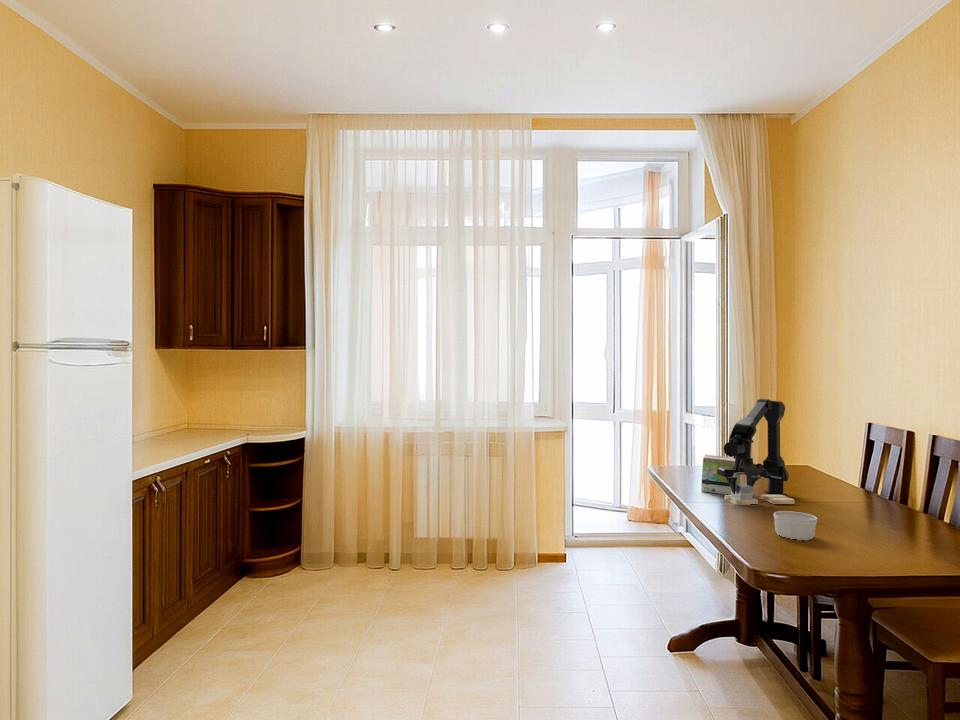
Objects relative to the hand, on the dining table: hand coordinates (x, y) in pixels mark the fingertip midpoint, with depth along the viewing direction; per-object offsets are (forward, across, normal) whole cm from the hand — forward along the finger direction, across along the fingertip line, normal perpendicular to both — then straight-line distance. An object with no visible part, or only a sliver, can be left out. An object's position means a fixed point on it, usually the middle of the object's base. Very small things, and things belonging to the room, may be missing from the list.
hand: (741, 493), depth 284 cm
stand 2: (+4, +16, 0) cm, 16 cm away
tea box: (+4, +2, +19) cm, 19 cm away
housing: (+2, 0, 0) cm, 2 cm away
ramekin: (+4, -9, -47) cm, 48 cm away
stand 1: (+4, 0, 0) cm, 4 cm away
